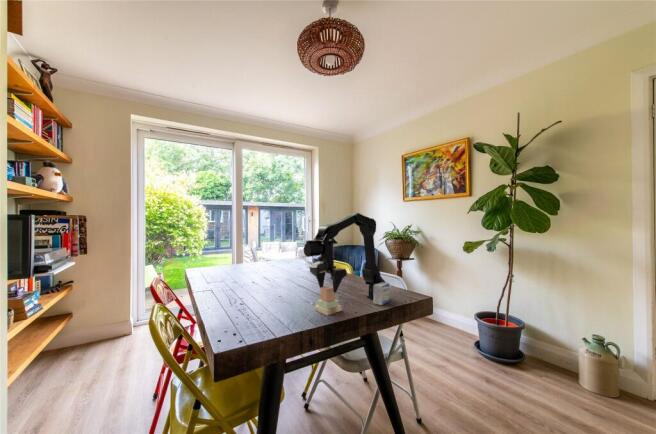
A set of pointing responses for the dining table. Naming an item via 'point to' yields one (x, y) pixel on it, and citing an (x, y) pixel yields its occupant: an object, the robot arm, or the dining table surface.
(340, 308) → the maple slab
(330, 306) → the sage slab
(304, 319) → the dining table surface
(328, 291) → the terracotta block
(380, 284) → the medicine box
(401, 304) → the dining table surface
